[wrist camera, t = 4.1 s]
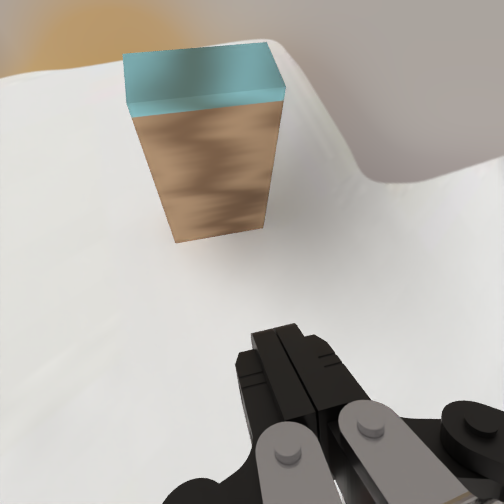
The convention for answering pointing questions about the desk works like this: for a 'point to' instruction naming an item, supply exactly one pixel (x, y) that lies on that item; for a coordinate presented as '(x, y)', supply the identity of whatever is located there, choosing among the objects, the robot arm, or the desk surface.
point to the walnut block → (208, 133)
